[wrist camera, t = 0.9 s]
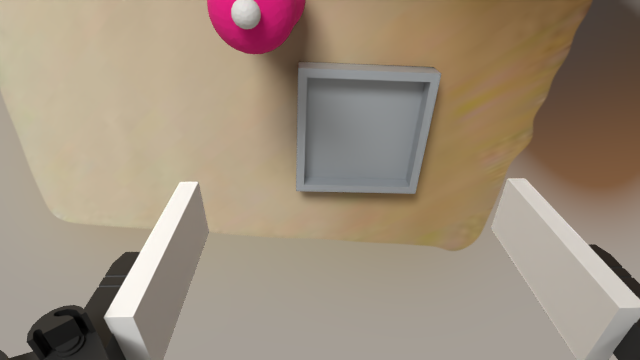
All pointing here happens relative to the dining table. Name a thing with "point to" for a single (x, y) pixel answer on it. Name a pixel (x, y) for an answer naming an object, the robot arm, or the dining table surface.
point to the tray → (363, 126)
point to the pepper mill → (254, 22)
